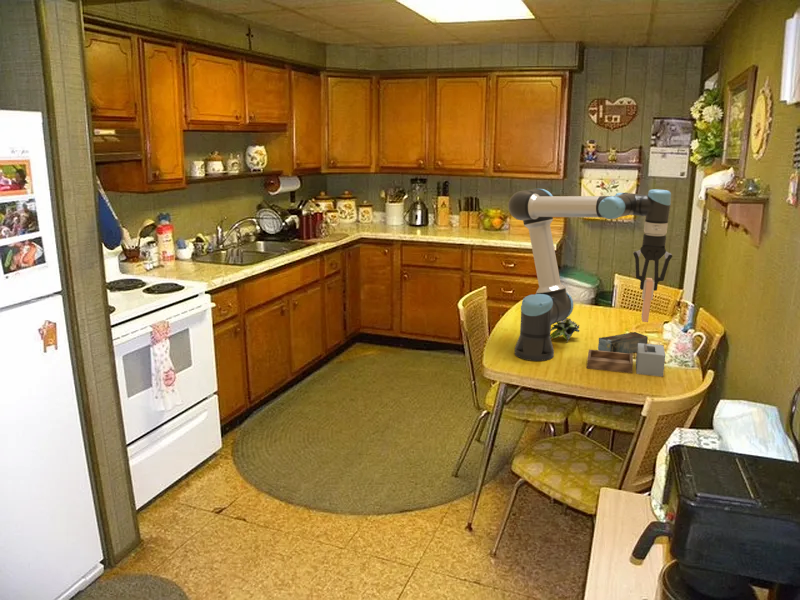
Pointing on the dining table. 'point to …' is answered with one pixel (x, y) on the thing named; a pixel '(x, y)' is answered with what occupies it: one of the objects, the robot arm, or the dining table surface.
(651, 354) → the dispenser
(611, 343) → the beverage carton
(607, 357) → the tray
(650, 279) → the tan wooden bar
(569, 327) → the green leafy plant
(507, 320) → the dining table surface
